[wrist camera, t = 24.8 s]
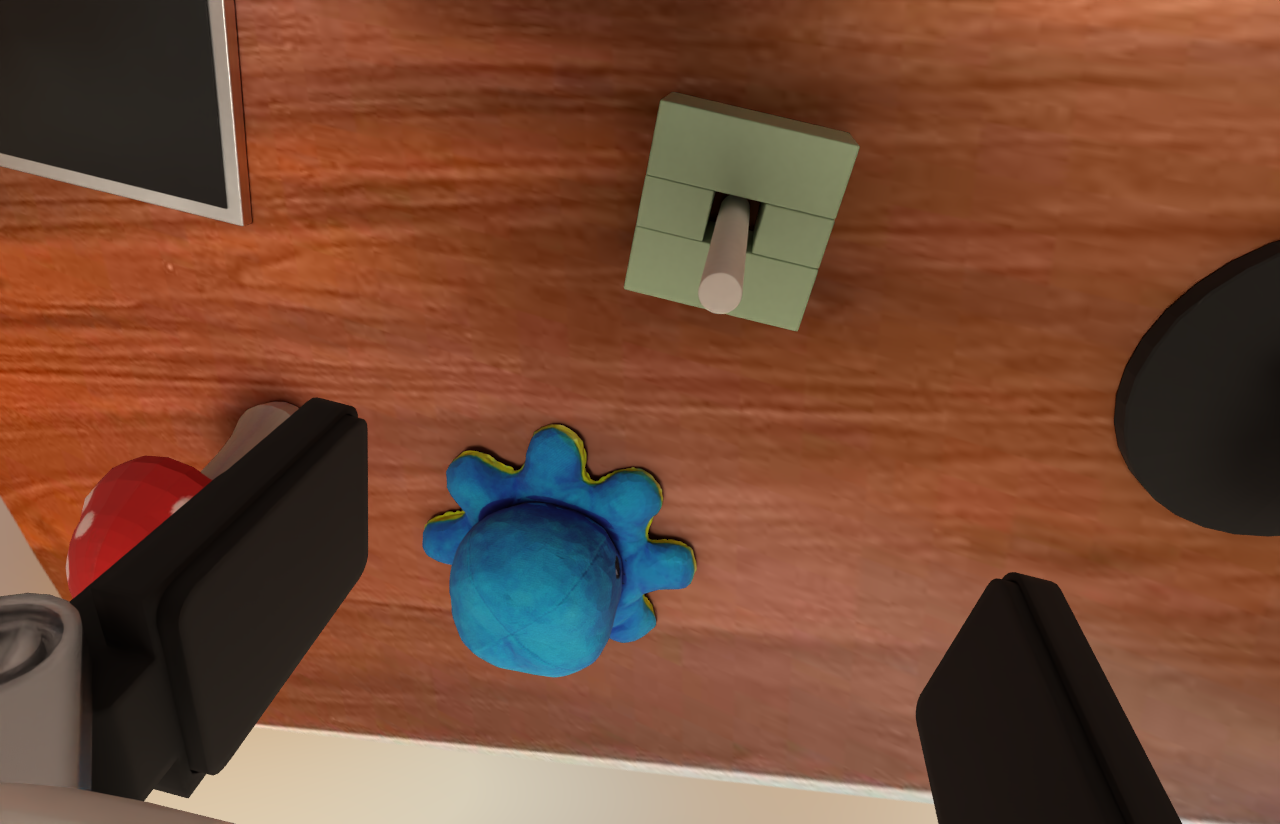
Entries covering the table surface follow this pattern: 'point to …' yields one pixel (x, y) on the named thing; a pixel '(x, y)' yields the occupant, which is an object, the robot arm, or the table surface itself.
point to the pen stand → (745, 167)
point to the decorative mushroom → (152, 496)
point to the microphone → (1211, 401)
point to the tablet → (127, 100)
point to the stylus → (726, 257)
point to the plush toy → (552, 556)
